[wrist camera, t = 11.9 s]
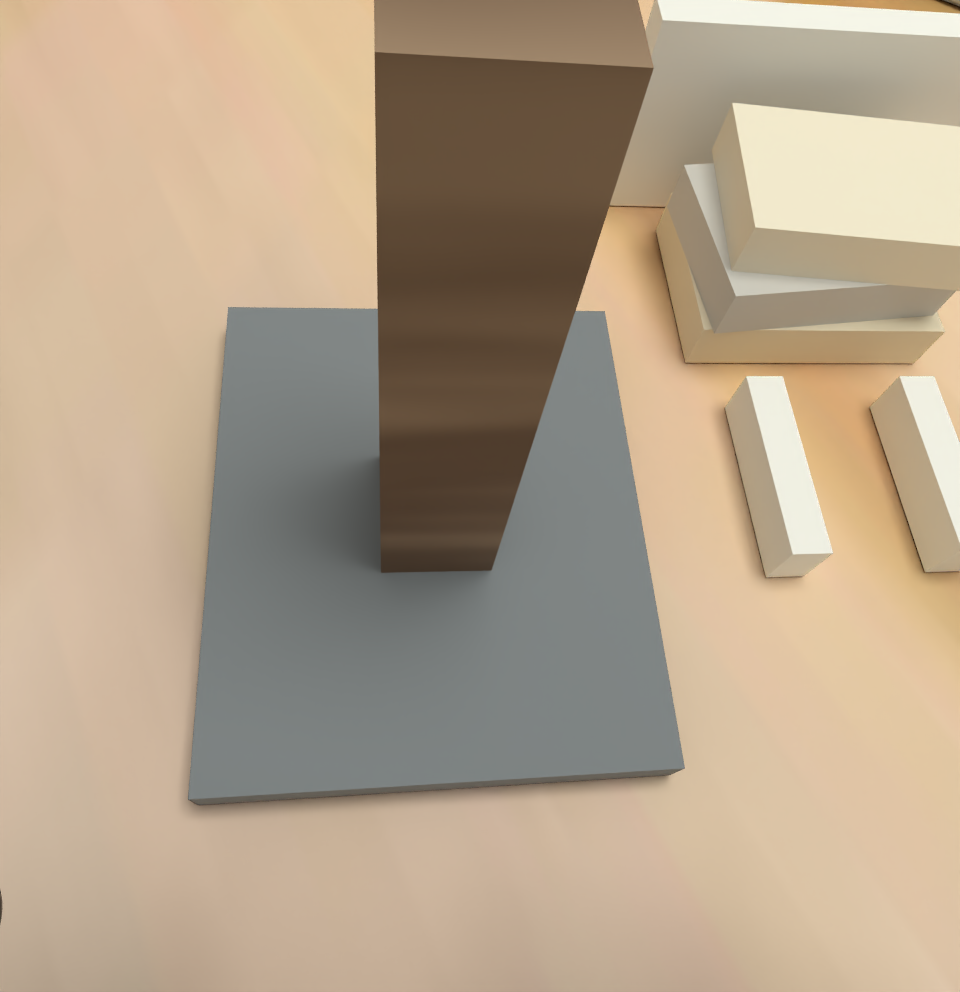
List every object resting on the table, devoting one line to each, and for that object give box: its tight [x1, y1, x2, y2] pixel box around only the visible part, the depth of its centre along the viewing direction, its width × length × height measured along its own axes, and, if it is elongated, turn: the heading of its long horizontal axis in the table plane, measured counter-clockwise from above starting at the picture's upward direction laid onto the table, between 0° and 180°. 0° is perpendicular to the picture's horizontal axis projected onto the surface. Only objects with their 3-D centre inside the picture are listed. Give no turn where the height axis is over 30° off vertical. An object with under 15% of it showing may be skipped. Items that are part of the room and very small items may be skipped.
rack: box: [610, 0, 960, 577], centre depth 21 cm, size 14×10×6 cm
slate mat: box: [188, 307, 685, 805], centre depth 19 cm, size 12×10×1 cm
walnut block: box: [374, 0, 654, 573], centre depth 13 cm, size 3×2×12 cm
